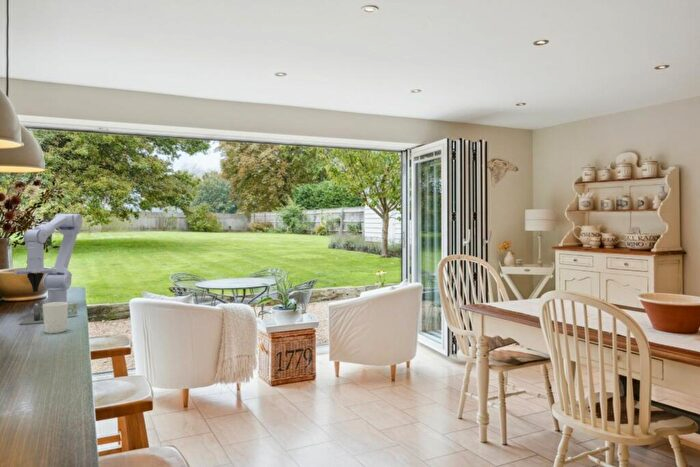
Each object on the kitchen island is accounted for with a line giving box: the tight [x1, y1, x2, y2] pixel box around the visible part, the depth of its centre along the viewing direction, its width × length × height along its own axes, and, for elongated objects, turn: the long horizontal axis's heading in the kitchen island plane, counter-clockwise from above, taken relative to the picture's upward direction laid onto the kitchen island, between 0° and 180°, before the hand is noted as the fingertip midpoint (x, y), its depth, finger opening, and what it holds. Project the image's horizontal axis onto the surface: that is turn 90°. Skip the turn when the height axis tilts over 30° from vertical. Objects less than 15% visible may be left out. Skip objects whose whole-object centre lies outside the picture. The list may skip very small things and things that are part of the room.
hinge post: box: [33, 303, 41, 321], centre depth 197 cm, size 2×2×7 cm
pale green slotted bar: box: [40, 302, 78, 319], centre depth 204 cm, size 14×2×5 cm, turn 143°
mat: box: [18, 312, 44, 326], centre depth 204 cm, size 22×14×1 cm, turn 23°
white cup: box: [42, 301, 69, 334], centre depth 182 cm, size 8×8×10 cm
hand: (35, 291), depth 206 cm, fingers closed
